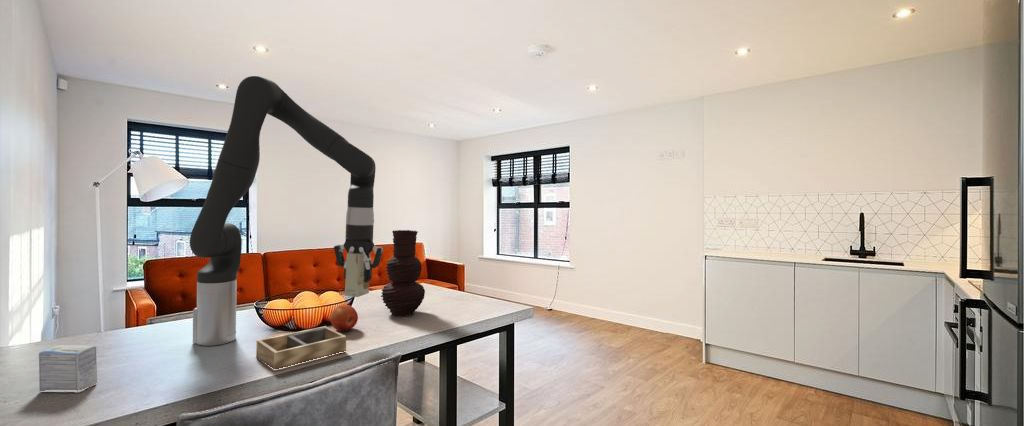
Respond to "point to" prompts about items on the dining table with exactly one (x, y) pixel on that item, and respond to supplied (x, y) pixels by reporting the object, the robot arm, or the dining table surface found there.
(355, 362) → the dining table surface
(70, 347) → the grey striped block
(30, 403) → the dining table surface
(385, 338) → the dining table surface
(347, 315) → the apple
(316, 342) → the walled box
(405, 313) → the vase
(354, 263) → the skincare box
